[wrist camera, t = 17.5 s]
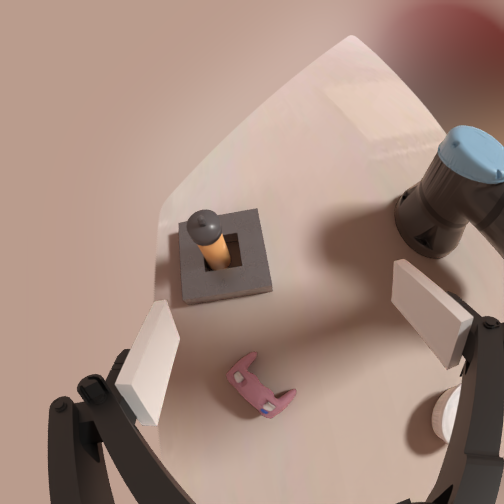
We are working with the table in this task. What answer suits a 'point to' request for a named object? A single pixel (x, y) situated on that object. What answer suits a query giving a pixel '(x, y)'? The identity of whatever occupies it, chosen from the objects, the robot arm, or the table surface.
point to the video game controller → (257, 389)
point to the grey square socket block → (231, 279)
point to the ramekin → (446, 413)
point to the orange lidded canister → (209, 238)
